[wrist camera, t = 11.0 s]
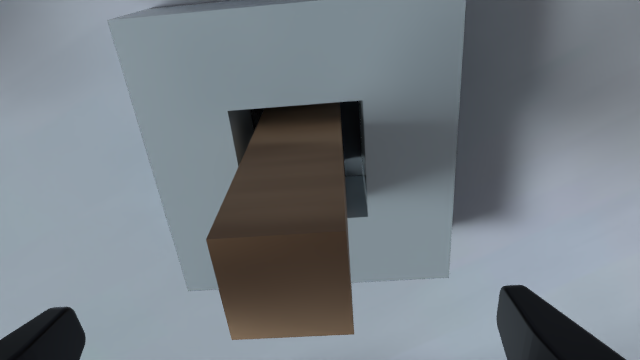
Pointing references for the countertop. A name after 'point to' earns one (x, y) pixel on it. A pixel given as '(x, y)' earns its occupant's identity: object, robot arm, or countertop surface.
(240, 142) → the holder
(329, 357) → the countertop surface
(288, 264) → the peg
